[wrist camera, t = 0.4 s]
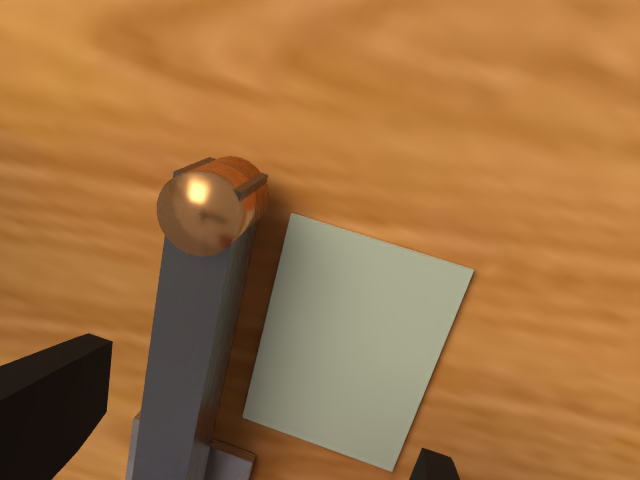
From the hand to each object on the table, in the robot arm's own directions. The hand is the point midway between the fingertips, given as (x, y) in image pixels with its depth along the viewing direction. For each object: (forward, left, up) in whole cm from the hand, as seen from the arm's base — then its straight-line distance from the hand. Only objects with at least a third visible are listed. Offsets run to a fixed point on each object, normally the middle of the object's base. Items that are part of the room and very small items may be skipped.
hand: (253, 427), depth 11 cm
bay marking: (-3, -2, -9) cm, 10 cm away
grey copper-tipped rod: (-5, +4, -8) cm, 10 cm away
